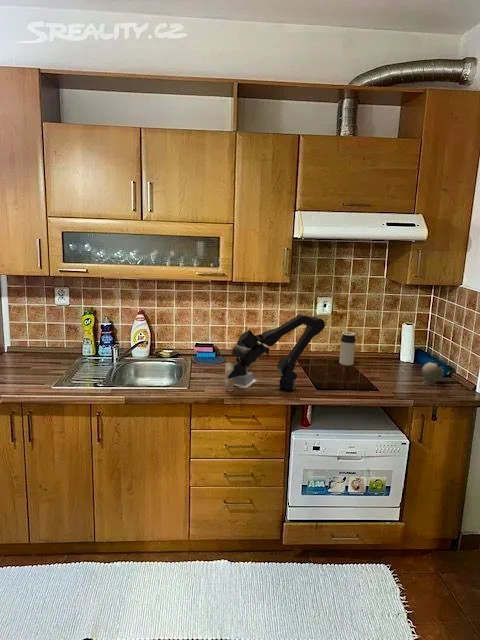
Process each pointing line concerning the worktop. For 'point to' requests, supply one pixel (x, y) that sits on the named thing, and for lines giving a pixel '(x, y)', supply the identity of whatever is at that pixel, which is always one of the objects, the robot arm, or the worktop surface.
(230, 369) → the peg
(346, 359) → the travel mug
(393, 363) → the worktop surface
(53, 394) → the worktop surface
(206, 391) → the worktop surface
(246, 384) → the socket
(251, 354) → the robot arm
